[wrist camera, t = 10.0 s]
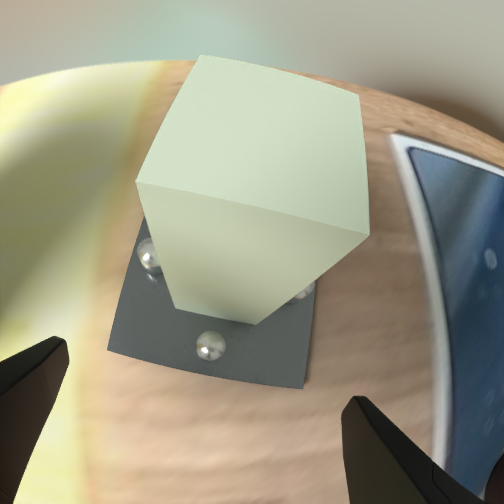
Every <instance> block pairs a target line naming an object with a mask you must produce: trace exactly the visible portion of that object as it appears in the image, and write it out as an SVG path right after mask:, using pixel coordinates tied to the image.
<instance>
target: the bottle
mask: <svg viewBox="0 0 504 504" xmlns="http://www.w3.org/2000/svg"><path fill="white" fill-rule="evenodd" d="M485 502H488V503H492V504H504V456H503V457H502V458H501V459H500V460H499V462H498V463H497V465H496V467H495V468H494V470H493V472H492V474H491V476H490V479H489V482H488V484H487V487H486V492H485Z"/></svg>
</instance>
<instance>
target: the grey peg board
mask: <svg viewBox="0 0 504 504" xmlns="http://www.w3.org/2000/svg"><path fill="white" fill-rule="evenodd" d="M315 287H316V280H315V281H313V282H312V283H311V284H309V285H308V286H307V287H306V288H304V289H303V290H302V291H300V292H299V293H298V294H297V295H295V296H294V297H293V298H291V299H290V300H289V301H287V302H286V303H285V304H283V305H282V306H281V307H279V308H278V309H277V310H275V311H274V312H273V313H271V314H270V315H269V316H267V317H266V318H265V319H263V320H262V321H261V322H259V323H258V324H257V325H253V324H247V323H242V322H237V321H232V320H227V319H222V318H217V317H212V316H208V315H203V314H198V313H194V312H189V311H185V310H180V309H176V308H175V306H174V303H173V300H172V297H171V295H170V292H169V289H168V286H167V283H166V280H165V277H164V275H163V272H162V269H161V266H160V263H159V260H158V257H157V253H156V250H155V247H154V244H153V241H152V238H151V234H150V231H149V228H148V225H147V221H146V218H145V216H144V219H143V222H142V225H141V228H140V231H139V234H138V237H137V240H136V243H135V246H134V250H133V253H132V256H131V259H130V263H129V266H128V269H127V273H126V276H125V280H124V283H123V287H122V291H121V294H120V298H119V302H118V306H117V309H116V313H115V318H114V322H113V326H112V330H111V334H110V339H109V343H108V348H107V350H108V351H112V352H115V353H118V354H122V355H125V356H129V357H132V358H136V359H139V360H143V361H147V362H151V363H155V364H159V365H163V366H167V367H171V368H176V369H180V370H184V371H189V372H194V373H199V374H204V375H209V376H214V377H219V378H225V379H231V380H236V381H243V382H249V383H256V384H263V385H270V386H278V387H287V388H296V389H303V385H304V379H305V372H306V364H307V357H308V350H309V342H310V334H311V325H312V316H313V307H314V298H315Z"/></svg>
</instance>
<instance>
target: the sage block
mask: <svg viewBox="0 0 504 504" xmlns="http://www.w3.org/2000/svg"><path fill="white" fill-rule="evenodd" d="M135 182H136V186H137V189H138V193H139V197H140V200H141V204H142V207H143V211H144V214H145V218H146V221H147V225H148V228H149V231H150V234H151V238H152V241H153V244H154V247H155V250H156V253H157V257H158V260H159V263H160V266H161V269H162V272H163V275H164V277H165V280H166V283H167V286H168V289H169V292H170V295H171V297H172V300H173V303H174V306H175V308H176V309H180V310H185V311H189V312H194V313H198V314H203V315H208V316H212V317H217V318H222V319H227V320H232V321H237V322H242V323H247V324H253V325H257V324H258V323H259V322H261V321H262V320H263V319H265V318H266V317H267V316H269V315H270V314H271V313H273V312H274V311H275V310H277V309H278V308H279V307H281V306H282V305H283V304H285V303H286V302H287V301H289V300H290V299H291V298H293V297H294V296H295V295H297V294H298V293H299V292H300V291H302V290H303V289H304V288H306V287H307V286H308V285H309V284H311V283H312V282H313V281H315V280H316V279H317V278H318V277H320V276H321V275H322V274H323V273H325V272H326V271H327V270H328V269H330V268H331V267H332V266H333V265H335V264H336V263H337V262H338V261H340V260H341V259H342V258H343V257H344V256H346V255H347V254H348V253H349V252H351V251H352V250H353V249H354V248H355V247H357V246H358V245H359V244H360V243H361V242H363V241H364V240H365V239H366V238H367V237H369V236H370V225H369V197H368V180H367V166H366V154H365V143H364V134H363V125H362V117H361V109H360V102H359V95H357V94H355V93H352V92H349V91H346V90H344V89H341V88H338V87H335V86H332V85H329V84H326V83H323V82H320V81H317V80H313V79H310V78H307V77H303V76H300V75H296V74H293V73H289V72H285V71H282V70H278V69H274V68H270V67H265V66H261V65H257V64H252V63H247V62H242V61H237V60H232V59H226V58H220V57H214V56H208V55H200V57H199V58H198V60H197V61H196V63H195V65H194V66H193V68H192V70H191V71H190V73H189V75H188V77H187V78H186V80H185V82H184V84H183V85H182V87H181V89H180V91H179V92H178V94H177V96H176V98H175V100H174V102H173V103H172V105H171V107H170V109H169V111H168V113H167V115H166V117H165V119H164V121H163V123H162V125H161V127H160V129H159V131H158V133H157V135H156V137H155V139H154V141H153V143H152V145H151V147H150V150H149V152H148V154H147V156H146V158H145V160H144V163H143V165H142V167H141V169H140V172H139V174H138V176H137V179H136V181H135Z"/></svg>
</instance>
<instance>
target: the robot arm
mask: <svg viewBox="0 0 504 504" xmlns="http://www.w3.org/2000/svg"><path fill="white" fill-rule="evenodd" d="M68 365H69V354H68V348H67V343H66V341H65V340H64V339H62V338H60V337H57V336H52V337H50V338H48V339H46V340H44V341H42V342H40V343H38V344H36V345H33V346H31V347H29V348H27V349H25V350H23V351H21V352H19V353H17V354H15V355H13V356H11V357H9V358H7V359H5V360H3V361H1V362H0V504H13V501H14V499H15V496H16V493H17V491H18V488H19V485H20V482H21V480H22V477H23V474H24V472H25V469H26V467H27V464H28V462H29V459H30V457H31V454H32V452H33V450H34V447H35V445H36V443H37V440H38V438H39V436H40V434H41V431H42V429H43V427H44V425H45V423H46V420H47V418H48V416H49V414H50V412H51V410H52V408H53V406H54V403H55V401H56V398H57V395H58V392H59V390H60V387H61V384H62V381H63V379H64V376H65V373H66V371H67V368H68ZM341 423H342V444H343V459H344V466H345V472H346V479H347V486H348V493H349V500H350V504H492V503H488V502H485V501H483V500H481V499H480V498H478V497H477V496H476V495H474V494H473V493H471V492H470V491H469V490H467V489H466V488H465V487H463V486H462V485H461V484H459V483H458V482H457V481H455V480H454V479H453V478H452V477H450V476H449V475H448V474H447V473H446V472H445V471H444V470H442V469H441V468H440V467H439V466H438V465H437V464H436V463H435V462H433V461H432V460H431V459H430V458H429V457H428V456H427V455H426V454H425V453H424V452H423V451H422V450H421V449H420V448H419V447H418V446H417V445H416V444H415V443H413V442H412V441H411V440H410V439H409V438H408V437H407V436H406V435H405V434H404V433H403V432H402V431H401V430H400V429H399V428H398V427H397V426H396V425H395V424H394V423H393V422H392V421H390V420H389V419H388V418H387V417H386V416H385V415H384V414H383V413H382V412H381V411H380V410H379V409H378V408H377V407H376V406H375V405H374V404H373V403H372V402H371V401H370V400H369V399H368V398H367V397H365V396H353V397H352V398H351V399H350V401H349V402H348V404H347V405H346V407H345V408H344V410H343V412H342V415H341Z"/></svg>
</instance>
